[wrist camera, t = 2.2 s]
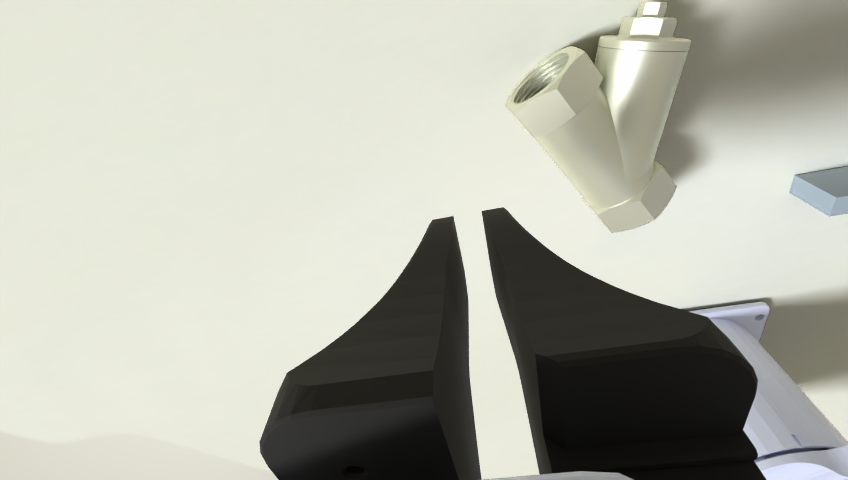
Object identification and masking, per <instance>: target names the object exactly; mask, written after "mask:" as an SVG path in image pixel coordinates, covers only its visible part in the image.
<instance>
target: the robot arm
mask: <svg viewBox="0 0 848 480" xmlns="http://www.w3.org/2000/svg"><path fill="white" fill-rule="evenodd" d="M482 216H483V222H484V228H485V235H486V241H487V247H488V254H489V260H490V266H491V272H492V277H493V282H494V288H495V293H496V297H497V301H498V304H499V307H500V310H501V314H502V317H503V320H504V323H505V326H506V330H507V333H508V336H509V339H510V342H511V346H512V349H513V352H514V355H515V359H516V362H517V366H518V370H519V374H520V379H521V384H522V389H523V393H524V398H525V403H526V408H527V413H528V418H529V423H530V428H531V433H532V438H533V443H534V448H535V453H536V458H537V463H538V468H539V473H540V475H530V476H519V477H507V478H496V479H484V480H848V441H847V440H846V439H845V438H844V437H843V436H842V435H841V434H840V432H839V431H838V430H837V429H836V428H835V427H834V426H833V425H832V424H831V422H830V421H829V420H828V419H827V418H826V417H825V416H824V415H823V414H822V412H821V411H820V410H819V409H818V408H817V407H816V406H815V405H814V403H813V402H812V401H811V400H810V399H809V398H808V397H807V396H806V395H805V393H804V392H803V391H802V390H801V389H800V388H799V387H798V386H797V385H796V383H795V382H794V381H793V380H792V379H791V378H790V377H789V376H788V375H787V373H786V372H785V371H784V370H783V369H782V368H781V367H780V366H779V364H778V363H777V362H776V361H775V360H774V359H773V358H772V357H771V356H770V354H769V353H768V352H767V351H766V350H765V349H764V348H763V347H762V346H761V344H760V343H759V341H760V338H761V335H762V332H763V329H764V326H765V323H766V320H767V317H768V314H769V311H770V307H769V306H768V305H767V304H766V303H765V302H754V303H747V304H740V305H732V306H725V307H717V308H710V309H703V310H695V311H685V310H681V309H678V308H674V307H671V306H667V305H663V304H660V303H657V302H654V301H651V300H648V299H645V298H643V297H640V296H637V295H634V294H632V293H629V292H626V291H624V290H622V289H619V288H617V287H614V286H612V285H610V284H608V283H606V282H603V281H601V280H599V279H597V278H595V277H593V276H591V275H589V274H587V273H585V272H583V271H581V270H580V269H578V268H576V267H574V266H573V265H571V264H569V263H568V262H566V261H564V260H563V259H562V258H560V257H559V256H557V255H556V254H554V253H553V252H552V251H550V250H549V249H548V248H546V247H545V246H544V245H543V244H541V243H540V242H539V241H538V240H537V239H535V238H534V237H533V236H532V235H531V234H530V233H529V232H527V231H526V230H525V229H524V228H523V227H522V226H521V225H520V224H519V223H518V222H517V221H516V220H515V219H514V218H513V217H512V215H511V214H510V213H509V212H508V211H507V210H506V209H505V208H497V209H491V210H486V211H482ZM260 452H261V455H262V457H263V458H264V460H265V462H266V464H267V465H268V467H269V468H270V469H271V471H272V472H273V473H274V474H275V476H276V477H277V478H278V479H279V480H481V473H480V465H479V456H478V448H477V440H476V431H475V422H474V414H473V405H472V396H471V387H470V377H469V323H468V294H467V286H466V279H465V271H464V267H463V262H462V257H461V252H460V247H459V242H458V237H457V232H456V227H455V223H454V218H453V216H452V217H447V218H441V219H435V220H432V222H431V223H430V225H429V227H428V229H427V231H426V233H425V235H424V237H423V239H422V241H421V243H420V245H419V246H418V248H417V250H416V251H415V253H414V255H413V256H412V258H411V260H410V261H409V263H408V265H407V266H406V267H405V269H404V270H403V272H402V273H401V275H400V276H399V278H398V279H397V280H396V282H395V283H394V284H393V286H392V287H391V288H390V289H389V291H388V292H387V293H386V294H385V295H384V296H383V298H382V299H381V300H380V301H379V302H378V303H377V304H376V305H375V306H374V307H373V308H372V309H371V310H370V311H369V312H368V313H366V314H365V315H364V316H363V317H362V318H361V319H360V320H359V321H358V322H357V323H356V324H355V325H354V326H352V327H351V328H350V329H349V330H348V331H346V332H345V333H344V334H343V335H341V336H340V337H339V338H338V339H336V340H335V341H334V342H332V343H331V344H330V345H328V346H327V347H326V348H324V349H323V350H322V351H320V352H318V353H317V354H315V355H314V356H312V357H311V358H309V359H308V360H306V361H305V362H303V363H302V364H300V365H299V366H297V367H296V368H294V369H293V370H291V371H289V372H288V373H287V374H286V376H285V379H284V381H283V383H282V385H281V387H280V389H279V392H278V394H277V397H276V399H275V402H274V405H273V407H272V410H271V413H270V416H269V418H268V421H267V424H266V426H265V429H264V432H263V434H262V437H261V440H260Z"/></svg>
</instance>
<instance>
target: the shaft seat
mask: <svg viewBox="0 0 848 480" xmlns="http://www.w3.org/2000/svg"><path fill="white" fill-rule="evenodd" d="M790 193H791V194H793V195H794V196H796V197H798V198H799V199H801V200H803V201H804V202H806V203H808V204H809V205H811V206H813V207H814V208H816V209H818V210H820V211H821V212H823V213H825V214H826V215H828V216H835V215H841V214H847V213H848V166H846V167H841V168H835V169H829V170H823V171H817V172H812V173H806V174H800V175H795V177H794V180H793V183H792V187H791V190H790Z"/></svg>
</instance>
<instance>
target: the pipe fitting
mask: <svg viewBox="0 0 848 480" xmlns="http://www.w3.org/2000/svg"><path fill="white" fill-rule="evenodd" d="M667 5H668V3H666V2H641V3H639V7H638V11H637V15H636V17H624V18H622V21H621V26H620V30H619V34H618V35H606V36H601V37H600V39H599V44H598V49H597V53H596V58H595V63H594V64H593V62H592V61H591V59H590V58H589V56H588V55H587V53H586V52H585V51H583V50H581V49H579V48H577V47H574V46H570V47H566V48H564V49H561V50H559V51H557V52H555V53H554V54H552V55H550V56H549V57H547V58H546V59H545V60H543V61H542V62H541V63H539V64H538V65H537V66H536V67H534V68H533V69H532V70H531V71H530V72H529V73H528V74H527V75H526V76H525V77H524V78H523V79H522V80H521V81H520V82H519V83H518V84H517V85H516V86H515V88H514V89H513V90H512V92H511V93H510V95H509V97H508V99H507V101H506V103H505V107H506V108H507V109H508V110H509V111H510V113H511V114H512V115H513V116H514V117H515V119H516V120H517V121H518V122H519V123H520V125H521V126H522V127H523V128H524V129H525V130H526V131H527V132H528V133H529V134H530V135H531V136H532V137H533V138H534V139H535V140H536V141H537V142H538V144H539V145H540V146H541V147H542V149H543V150H544V151H545V152H546V153H547V155H548V156H549V157H550V158H551V159H552V161H553V162H554V163H555V164H556V165H557V167H558V168H559V169H560V170H561V172H562V173H563V174H564V175H565V176H566V178H567V179H568V180H569V181H570V182H571V184H572V185H573V186H574V187H575V188H576V190H577V191H578V192H579V193H580V194H581V196H582V199H583V201H584V202H585V203H586V204H587V205H588V207H589V208H590V209H591V210H592V211H593V213H594V214H595V215H596V216H597V217H598V218H599V219H600V221H601V222H602V223H603V224H604V225H605V226H606V227H607V228H608V229H609V230H610V231H611V232H612V233H613V232H620V231H626V230H630V229H634V228H637V227H640V226H642V225H645V224H647V223H649V222H651V221H653V220H655V219H656V218H657V217H658V216H659V215H660V214H661V213H662V211H663V210H664V209H665V208H666V206H667V205H668V203H669V201H670V200H671V198H672V196H673V194H674V192H675V190H676V187H677V186H676V185H675V183H674V182H673V180H672V179H671V177H670V176H669V174H668V173H667V171H666V170H665V168H664V167H663V166H662V165H660V164H659V163H658V162H656V161H655V160H654V158H655V155H656V151H657V148H658V145H659V142H660V139H661V136H662V133H663V129H664V126H665V123H666V120H667V117H668V114H669V111H670V107H671V104H672V101H673V98H674V95H675V92H676V89H677V85H678V82H679V79H680V76H681V73H682V70H683V67H684V63H685V60H686V57H687V54H688V50H689V48H690V45H691V40H689V39H683V38H673V34H674V31H675V27H676V24H677V21H678V20H677V19H675V18H666V17H664V15H665V12H666V8H667Z"/></svg>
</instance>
